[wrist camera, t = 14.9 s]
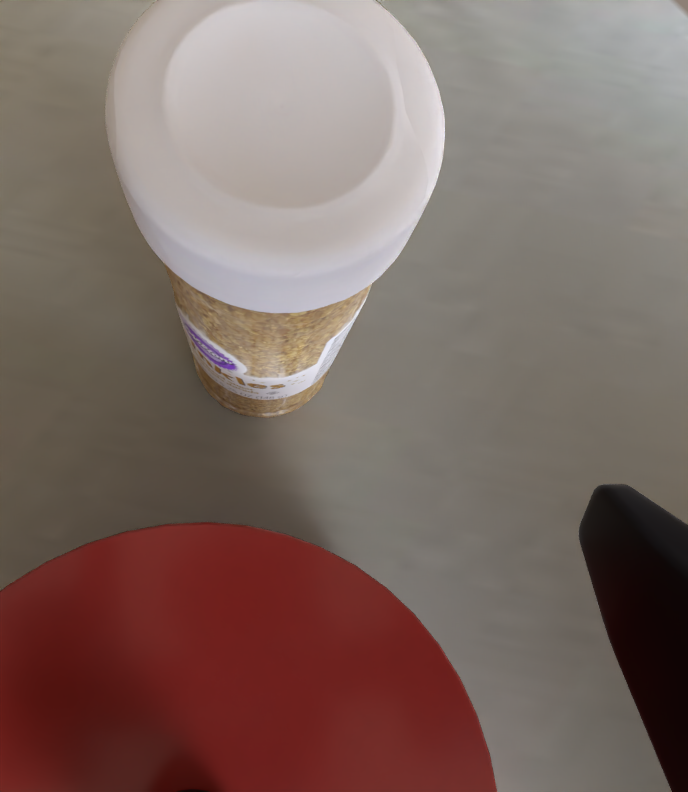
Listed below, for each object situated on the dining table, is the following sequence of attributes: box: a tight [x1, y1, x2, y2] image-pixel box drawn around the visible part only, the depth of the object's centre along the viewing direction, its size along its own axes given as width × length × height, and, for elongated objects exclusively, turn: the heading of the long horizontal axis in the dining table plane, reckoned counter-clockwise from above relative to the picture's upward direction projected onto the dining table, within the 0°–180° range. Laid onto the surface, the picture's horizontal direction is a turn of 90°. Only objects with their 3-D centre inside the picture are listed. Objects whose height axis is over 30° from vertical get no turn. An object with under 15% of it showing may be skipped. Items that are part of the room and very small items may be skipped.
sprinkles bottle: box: [105, 0, 445, 418], centre depth 15 cm, size 5×5×14 cm
